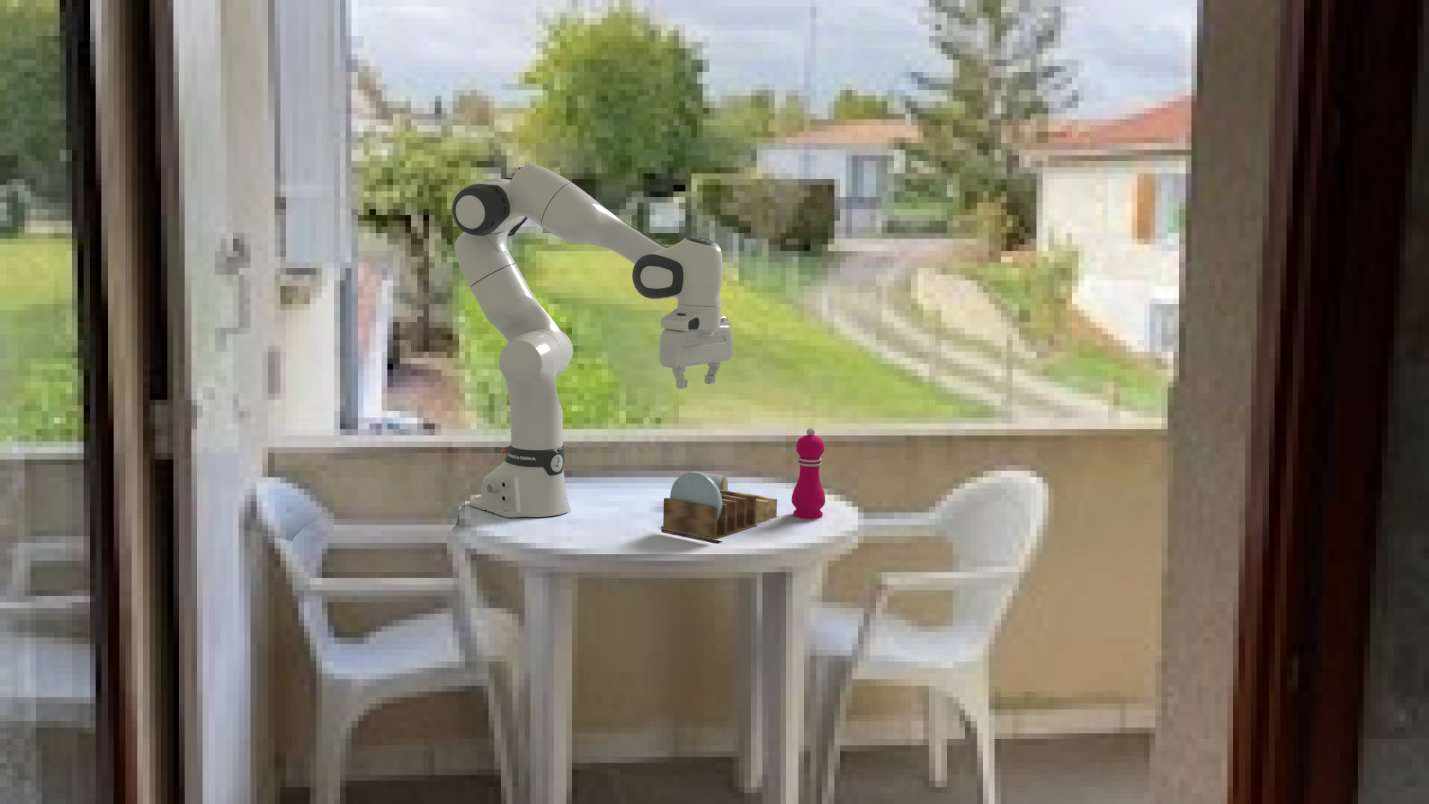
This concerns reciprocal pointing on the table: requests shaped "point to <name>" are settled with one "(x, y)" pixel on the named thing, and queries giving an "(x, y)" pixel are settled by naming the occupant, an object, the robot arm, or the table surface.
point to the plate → (697, 490)
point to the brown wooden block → (765, 508)
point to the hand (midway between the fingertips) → (695, 386)
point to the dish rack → (710, 517)
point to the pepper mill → (809, 478)
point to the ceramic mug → (718, 481)
